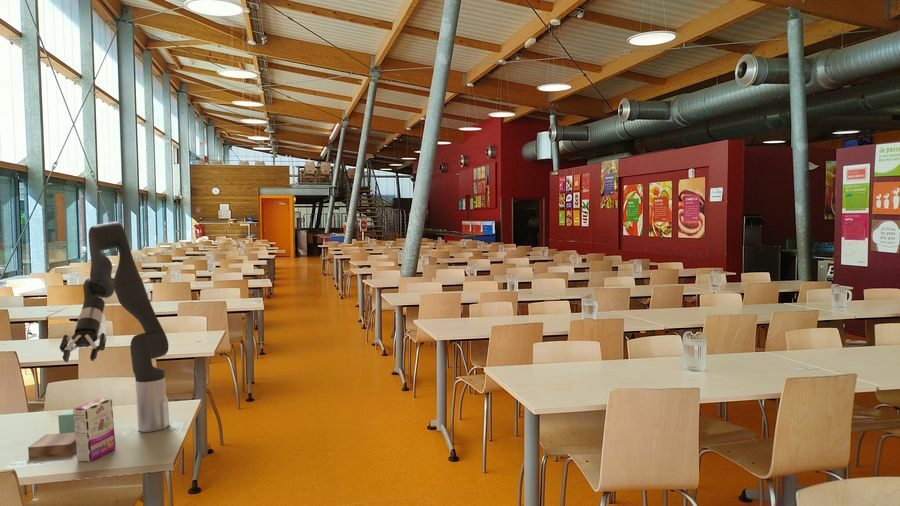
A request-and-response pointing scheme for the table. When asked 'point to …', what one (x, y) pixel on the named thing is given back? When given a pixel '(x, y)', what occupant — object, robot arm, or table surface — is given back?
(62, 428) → the teal pillar block
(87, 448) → the candy bar box
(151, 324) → the robot arm
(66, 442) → the walnut block
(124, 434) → the table surface
